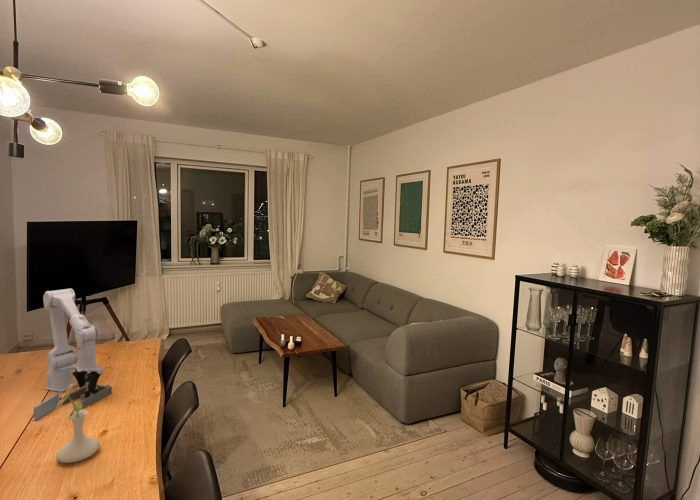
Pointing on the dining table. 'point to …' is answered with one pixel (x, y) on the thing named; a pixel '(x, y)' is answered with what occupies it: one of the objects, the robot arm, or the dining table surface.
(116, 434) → the dining table surface
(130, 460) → the dining table surface
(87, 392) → the push button
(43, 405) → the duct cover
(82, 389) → the duct bay
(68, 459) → the flower in vase
